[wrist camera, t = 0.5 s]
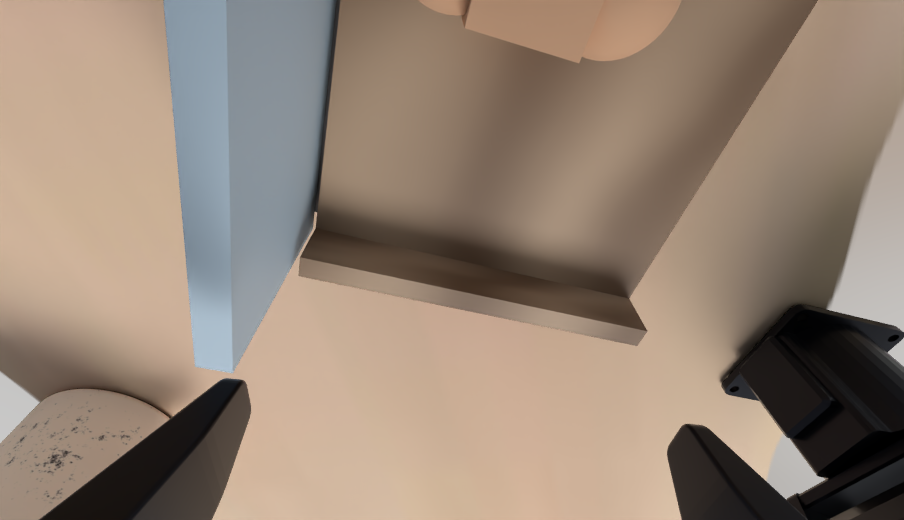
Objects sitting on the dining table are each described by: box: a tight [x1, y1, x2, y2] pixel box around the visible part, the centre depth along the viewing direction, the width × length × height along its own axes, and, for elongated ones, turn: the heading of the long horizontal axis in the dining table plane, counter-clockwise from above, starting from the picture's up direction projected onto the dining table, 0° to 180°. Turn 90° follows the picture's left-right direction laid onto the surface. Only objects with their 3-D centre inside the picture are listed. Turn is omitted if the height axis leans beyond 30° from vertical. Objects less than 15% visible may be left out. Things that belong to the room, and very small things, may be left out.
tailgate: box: [164, 0, 336, 373], centre depth 10 cm, size 1×14×8 cm, turn 165°
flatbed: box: [299, 0, 818, 346], centre depth 14 cm, size 14×17×4 cm
